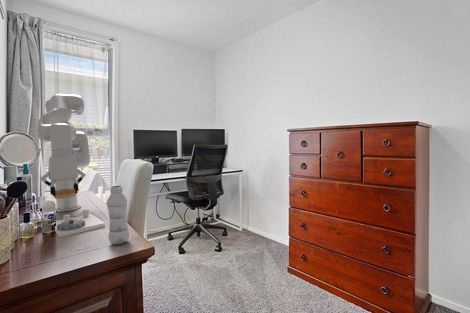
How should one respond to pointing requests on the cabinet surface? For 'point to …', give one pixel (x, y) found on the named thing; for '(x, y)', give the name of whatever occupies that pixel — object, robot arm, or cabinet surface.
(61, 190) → the ochre gear
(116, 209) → the plastic bottle
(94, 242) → the cabinet surface
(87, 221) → the gear board
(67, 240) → the cabinet surface
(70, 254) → the cabinet surface
